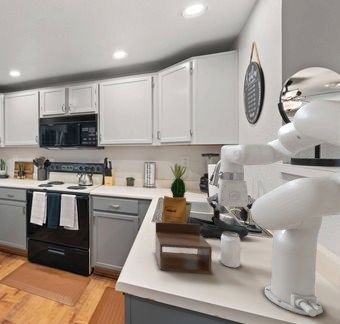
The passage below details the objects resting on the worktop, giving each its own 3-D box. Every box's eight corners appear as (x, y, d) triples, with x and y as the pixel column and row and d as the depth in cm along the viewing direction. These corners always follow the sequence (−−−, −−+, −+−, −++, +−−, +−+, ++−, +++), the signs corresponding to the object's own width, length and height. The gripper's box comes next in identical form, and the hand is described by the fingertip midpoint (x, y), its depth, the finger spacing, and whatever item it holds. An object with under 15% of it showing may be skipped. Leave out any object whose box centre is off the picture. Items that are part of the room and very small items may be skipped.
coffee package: (163, 233, 121) (163, 193, 120) (188, 238, 114) (188, 196, 113) (158, 239, 113) (158, 196, 112) (184, 245, 106) (184, 199, 105)
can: (222, 266, 86) (223, 236, 85) (218, 259, 92) (219, 230, 92) (242, 269, 84) (242, 238, 83) (236, 261, 90) (237, 232, 90)
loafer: (252, 241, 110) (252, 221, 109) (190, 238, 114) (190, 218, 114) (241, 233, 120) (241, 215, 120) (184, 231, 125) (185, 213, 124)
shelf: (211, 274, 81) (211, 236, 80) (160, 270, 84) (160, 233, 83) (199, 256, 95) (199, 223, 94) (155, 253, 98) (155, 222, 97)
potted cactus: (163, 222, 141) (164, 175, 140) (190, 224, 136) (191, 175, 135) (162, 229, 127) (163, 177, 126) (192, 233, 122) (193, 178, 120)
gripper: (211, 177, 84) (210, 221, 85) (261, 178, 82) (260, 224, 82) (204, 175, 92) (203, 216, 93) (250, 175, 89) (249, 218, 90)
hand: (230, 219), depth 88 cm, fingers open, 9 cm apart
